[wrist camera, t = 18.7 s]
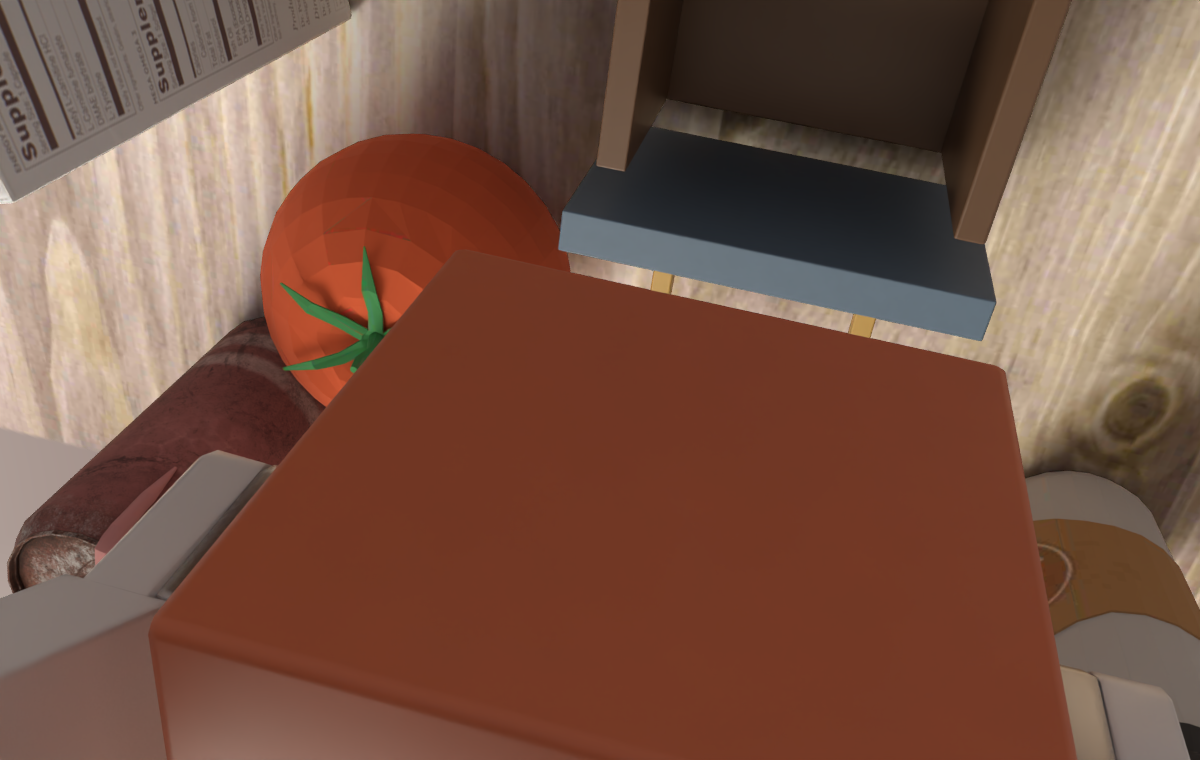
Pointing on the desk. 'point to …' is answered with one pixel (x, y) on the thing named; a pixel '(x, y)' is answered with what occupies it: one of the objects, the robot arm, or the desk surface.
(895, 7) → the drawer
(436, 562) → the block
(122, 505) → the can
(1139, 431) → the desk surface
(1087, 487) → the coffee cup
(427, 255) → the tomato
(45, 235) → the desk surface
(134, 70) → the supplement box
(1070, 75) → the desk surface
